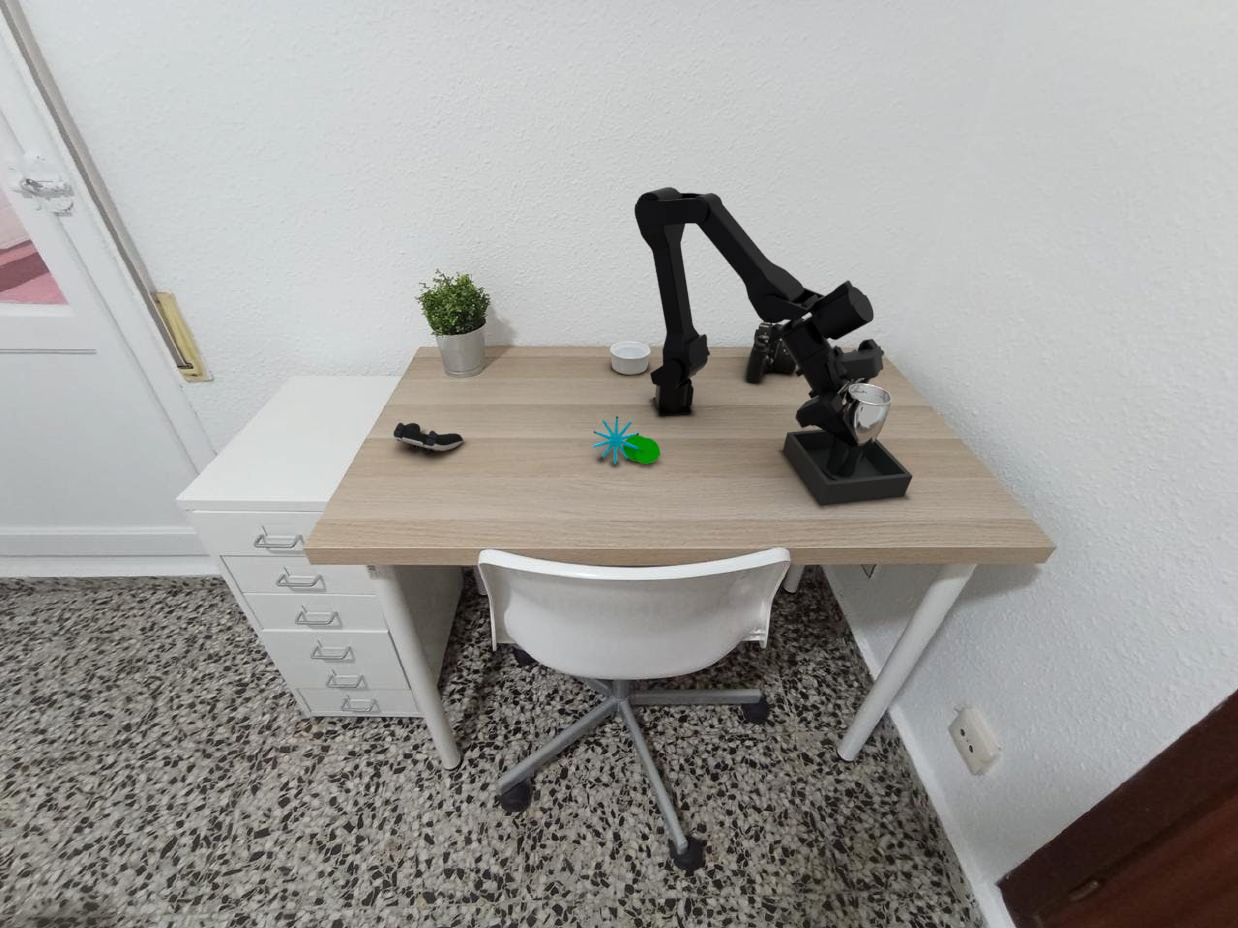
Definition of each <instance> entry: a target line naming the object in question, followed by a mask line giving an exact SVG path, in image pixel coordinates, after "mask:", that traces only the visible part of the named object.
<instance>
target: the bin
mask: <svg viewBox="0 0 1238 928" xmlns="http://www.w3.org/2000/svg"><path fill="white" fill-rule="evenodd" d="M832 442H833V435H832V434H830V433H828V432H826V431H824V430H822V429H821V428H820V429H812V430H800V431H787V433H786V436H785V440H784V444H783V448H782V454H783V455H784V457H785V458H786V460H787V461H788V463H790V465H791V466H792V468H793V469H794V470H795V472H796V474H797V475H798V476H799V477H800V479H801V481H802V482H803V483H804V485H805V486H806V487H807V489H808V490H809V492H811V494H812V496H813V497H814V499H815V500H816V501H817V503H818V504H819V506H827V505H836V504H837V505H838V504H846V503H856V502H865V501H874V500H882V499H883V500H884V499H892V498H901V497H905V496H906V493H907V490H908V488H909V486H910V484H911V481H912V480H913V477H914V475H912V474H911V473H910V471H908V469H907V468H906V467H904V465H903V464H902V463H901V462H900V461H899V460H898V459H897V458H896V457H895V456H894V455H893V454H892V453H891V452H890V451H889V450H888V449H887V448H886V447H885V446H884V445H883V444H882V443H881V442H880V441H879V440H878V438H876V440H875V441H874V443H873V444H872V446H871V447H870V449H869V450H868V452H867V453H866V455H865V457H864V459H863V462H862V465H861V472H860V476H859V478H858V479H848V480H836V479H833V478H831V477H830V476H828V475H827V474H826V473H825V472H824V470H823V468H822V465H823V462H824V461H825V459H826V457H827V456H828V454H829V452H830V450H831V447H832Z"/></svg>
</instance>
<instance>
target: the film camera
mask: <svg viewBox="0 0 1238 928" xmlns="http://www.w3.org/2000/svg"><path fill="white" fill-rule="evenodd" d="M773 325H774V323H766V322H764V321H763V320H762V321H761V322H760V324H759V325H758V328H756V329H755V332H754V335H753V345H752V348H751V351H750V354H749V359H748V363H747V367H746V375H745V380H746V382H748V383H751V384H759V383H760V382H761V380H762V378H763V374H764V373H766V374H768V373H769V372H771V371H772V372H774V373H775V372H776V373H786V374H793V373H795V371H796V368H797V365H796V363H795V361H794V360H793V358H792V356H791V355H790V353H789V351H788V350H787V348H786V347H785V345H784V343H783V342H782V340H781V339H779V340H778V341H776V342H774V343H772V344H768V339H769V336H770V332H771V329H770V328H771V327H772V326H773Z"/></svg>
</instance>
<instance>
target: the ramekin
mask: <svg viewBox="0 0 1238 928" xmlns="http://www.w3.org/2000/svg"><path fill="white" fill-rule="evenodd" d="M609 352H610V358H611V359H610V360H611V366H612V367H611V368H612V369H613V371H615V372H617V373H618V374H622V375H629V376H630V375H631V376H632V375H633V376H634V375H639V374H641V373H643V372H645V371H646V370H647V369H648V364H649V359H650V355H651V348H650V347H649V346H648V345H646V344H645V343H642V342H638V341H632V340H631V341H630V340H629V341H628V340H627V341H626V340H625V341H619V342H616V343H614V344H612V345H611V346H610V348H609Z"/></svg>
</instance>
